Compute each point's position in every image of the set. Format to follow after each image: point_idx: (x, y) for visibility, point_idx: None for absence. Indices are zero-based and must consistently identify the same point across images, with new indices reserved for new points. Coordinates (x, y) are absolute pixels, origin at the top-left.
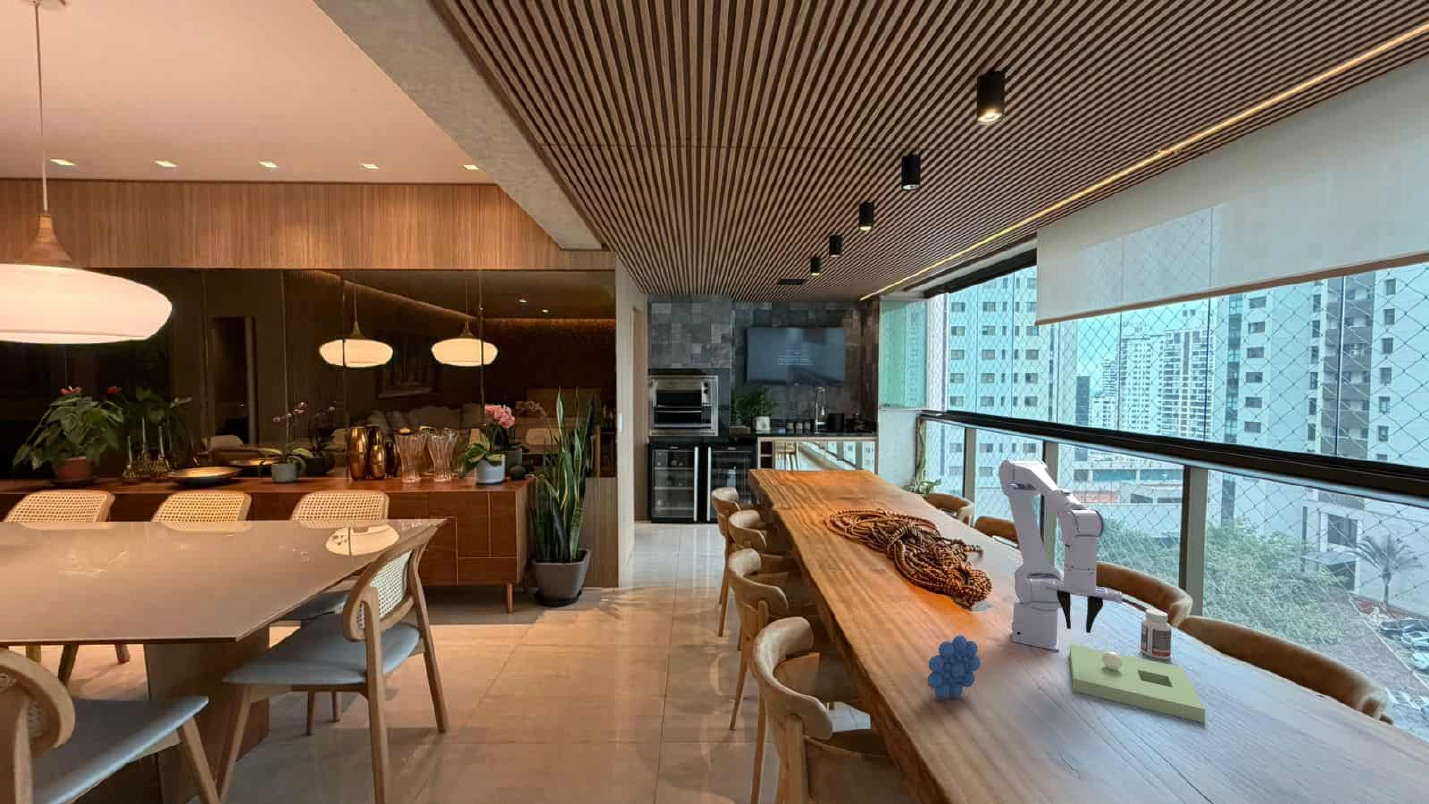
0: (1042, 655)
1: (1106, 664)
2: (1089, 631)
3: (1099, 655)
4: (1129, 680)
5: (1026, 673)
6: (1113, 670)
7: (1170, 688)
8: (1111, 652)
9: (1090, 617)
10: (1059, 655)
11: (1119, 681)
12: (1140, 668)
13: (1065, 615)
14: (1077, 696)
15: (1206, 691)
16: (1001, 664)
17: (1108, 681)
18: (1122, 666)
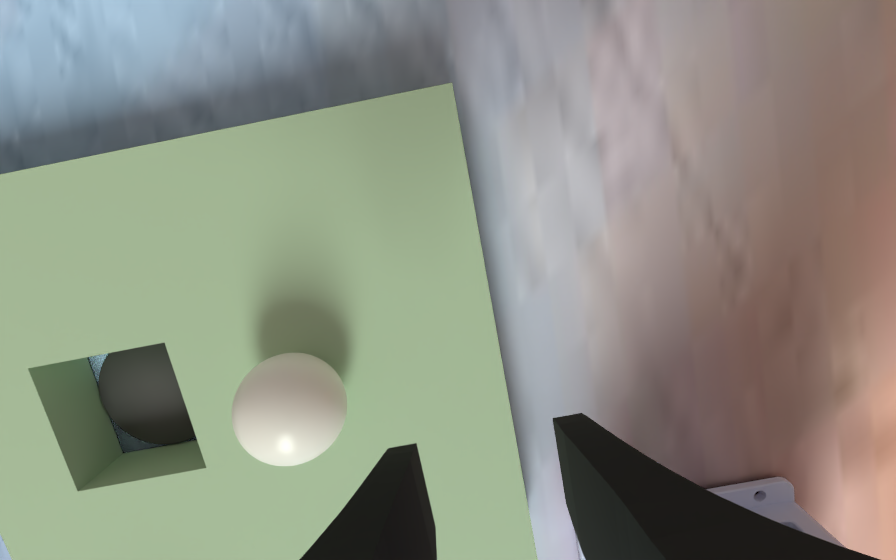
0: (635, 417)
1: (319, 360)
2: (389, 451)
3: None
4: (207, 294)
5: (680, 132)
6: None
7: (35, 348)
8: (276, 430)
9: (345, 555)
10: None
11: (245, 240)
12: (196, 492)
13: (671, 475)
14: (425, 44)
15: None
16: (810, 148)
17: (290, 192)
18: None
